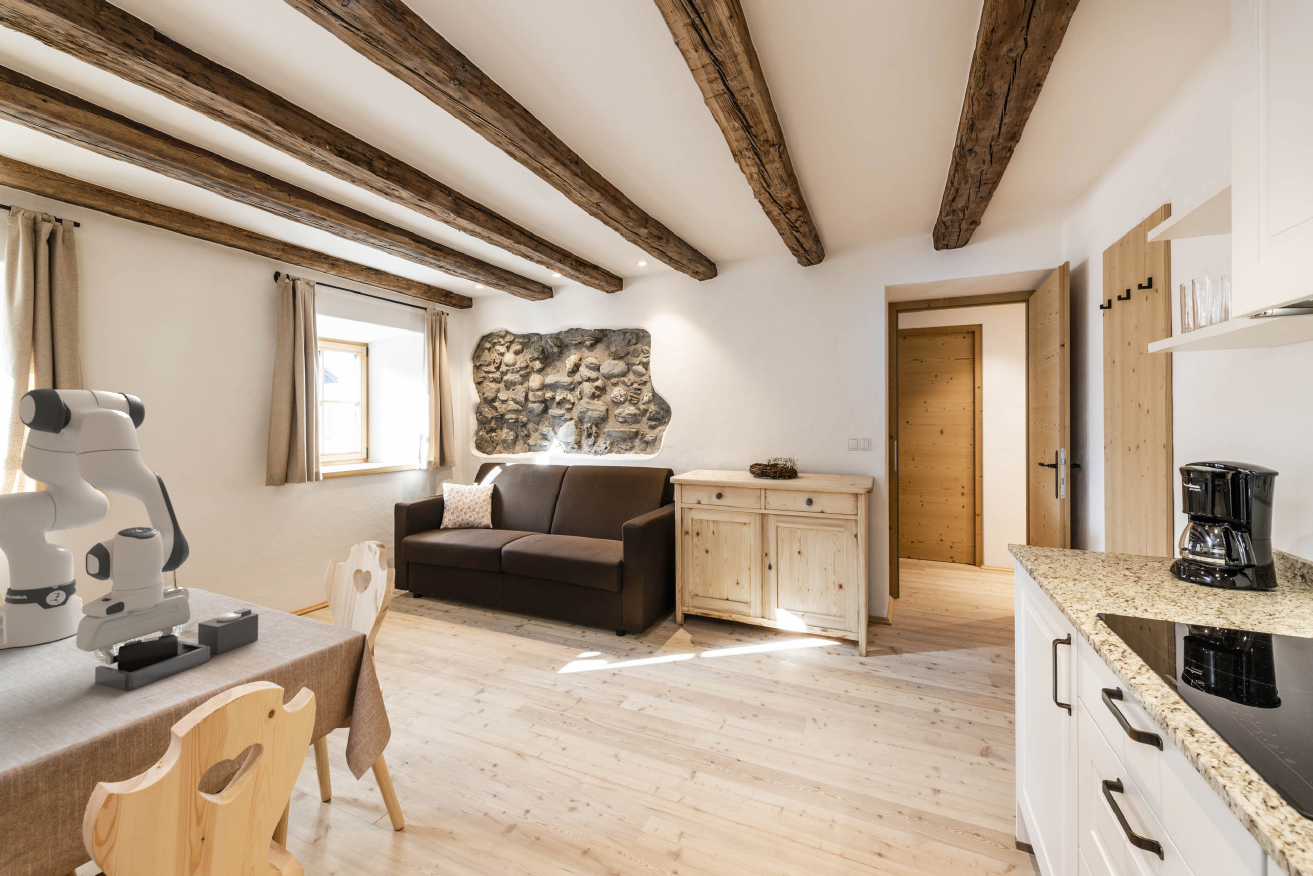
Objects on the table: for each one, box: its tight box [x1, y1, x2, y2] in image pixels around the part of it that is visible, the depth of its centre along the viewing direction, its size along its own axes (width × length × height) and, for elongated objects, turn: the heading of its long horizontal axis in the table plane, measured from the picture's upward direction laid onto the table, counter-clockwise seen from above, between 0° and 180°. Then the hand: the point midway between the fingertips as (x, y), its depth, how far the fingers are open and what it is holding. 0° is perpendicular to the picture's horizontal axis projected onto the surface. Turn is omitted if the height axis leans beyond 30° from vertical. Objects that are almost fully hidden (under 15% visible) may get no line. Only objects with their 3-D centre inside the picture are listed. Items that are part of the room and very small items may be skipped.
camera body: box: [197, 607, 259, 655], centre depth 138 cm, size 7×10×8 cm
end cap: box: [117, 633, 179, 672], centre depth 124 cm, size 10×7×7 cm
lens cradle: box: [94, 639, 211, 692], centre depth 122 cm, size 11×16×4 cm
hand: (137, 655), depth 124 cm, fingers open, 8 cm apart
